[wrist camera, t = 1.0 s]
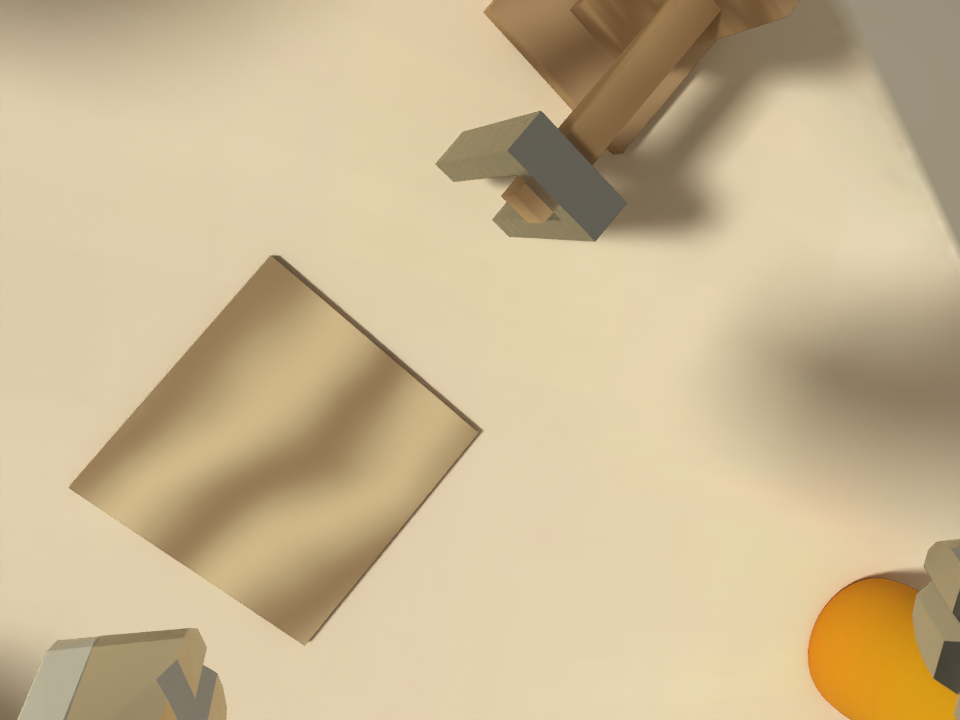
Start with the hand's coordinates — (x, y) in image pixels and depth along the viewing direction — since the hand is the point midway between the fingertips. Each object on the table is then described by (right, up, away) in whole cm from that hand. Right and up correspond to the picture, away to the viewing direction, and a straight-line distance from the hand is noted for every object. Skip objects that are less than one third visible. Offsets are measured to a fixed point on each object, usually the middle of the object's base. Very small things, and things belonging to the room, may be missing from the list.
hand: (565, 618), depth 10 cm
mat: (-10, -2, +34) cm, 36 cm away
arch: (-1, +11, +32) cm, 34 cm away
